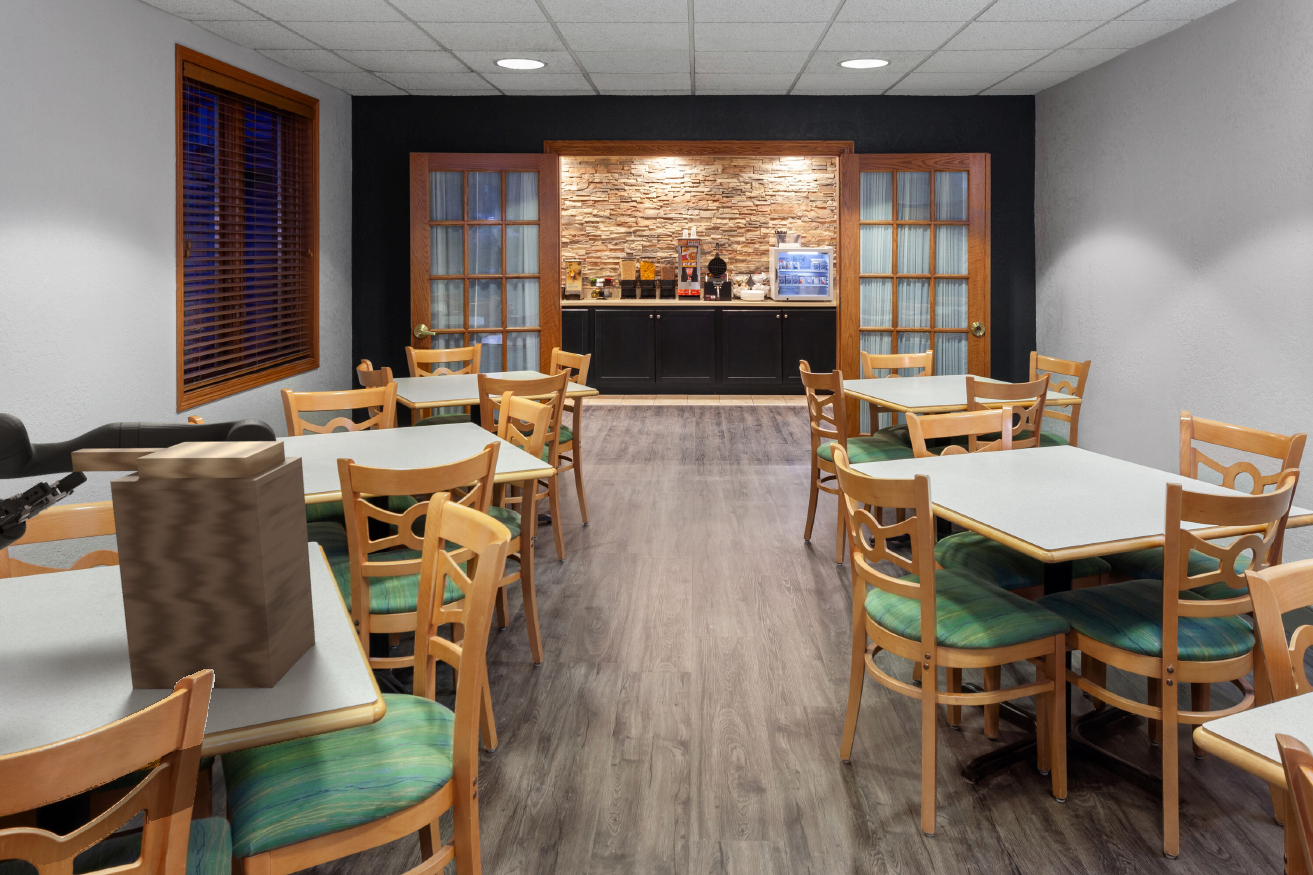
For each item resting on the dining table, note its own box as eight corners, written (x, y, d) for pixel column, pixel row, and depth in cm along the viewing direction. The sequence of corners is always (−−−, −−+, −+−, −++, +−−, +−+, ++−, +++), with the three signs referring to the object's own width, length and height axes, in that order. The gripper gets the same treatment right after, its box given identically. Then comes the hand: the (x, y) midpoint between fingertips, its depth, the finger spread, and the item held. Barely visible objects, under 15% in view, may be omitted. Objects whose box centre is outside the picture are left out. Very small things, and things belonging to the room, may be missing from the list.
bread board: (285, 459, 149) (283, 441, 149) (247, 477, 136) (246, 457, 135) (105, 461, 149) (103, 442, 149) (50, 479, 135) (47, 459, 135)
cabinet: (315, 641, 157) (301, 457, 151) (272, 687, 139) (255, 480, 134) (191, 642, 157) (173, 458, 151) (132, 689, 139) (110, 481, 133)
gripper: (-68, 524, 136) (20, 469, 135) (-1, 501, 150) (79, 451, 149) (-37, 566, 137) (51, 511, 136) (27, 539, 152) (107, 490, 150)
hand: (66, 480), depth 143 cm, fingers open, 8 cm apart
